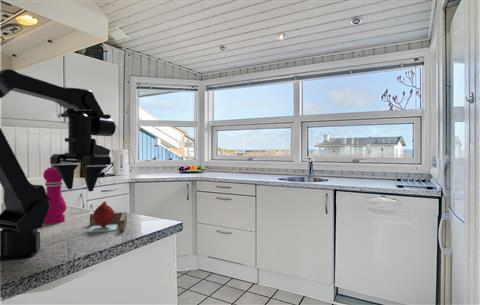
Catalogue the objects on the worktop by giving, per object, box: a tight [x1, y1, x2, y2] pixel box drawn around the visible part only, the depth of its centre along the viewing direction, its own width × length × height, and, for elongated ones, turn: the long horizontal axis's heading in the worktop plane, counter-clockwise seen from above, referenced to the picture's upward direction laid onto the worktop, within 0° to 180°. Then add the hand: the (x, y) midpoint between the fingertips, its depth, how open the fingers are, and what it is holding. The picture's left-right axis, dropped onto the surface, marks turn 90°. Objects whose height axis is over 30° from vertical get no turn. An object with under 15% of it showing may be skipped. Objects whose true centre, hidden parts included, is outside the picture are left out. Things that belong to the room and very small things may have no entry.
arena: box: [89, 211, 128, 233], centre depth 88 cm, size 11×12×4 cm
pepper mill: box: [42, 164, 67, 225], centre depth 96 cm, size 7×7×20 cm
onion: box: [93, 201, 115, 227], centre depth 88 cm, size 6×6×8 cm
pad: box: [87, 223, 119, 234], centre depth 88 cm, size 8×8×1 cm
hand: (80, 190), depth 80 cm, fingers open, 9 cm apart
